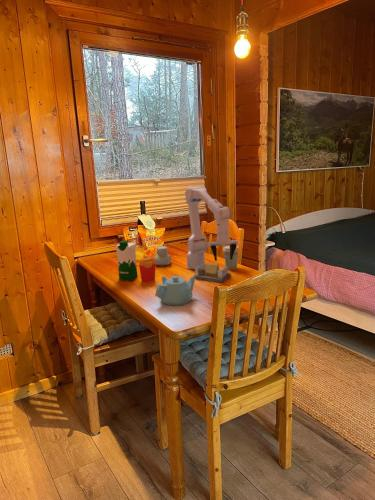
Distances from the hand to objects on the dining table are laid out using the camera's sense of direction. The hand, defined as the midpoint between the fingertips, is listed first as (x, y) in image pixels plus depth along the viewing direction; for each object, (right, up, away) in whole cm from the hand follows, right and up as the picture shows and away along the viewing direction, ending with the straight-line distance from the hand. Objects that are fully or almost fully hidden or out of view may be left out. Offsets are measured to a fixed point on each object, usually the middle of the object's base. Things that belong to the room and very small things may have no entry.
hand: (223, 259), depth 179 cm
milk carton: (-48, -10, +9) cm, 50 cm away
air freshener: (-32, -4, +32) cm, 45 cm away
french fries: (-37, -11, +5) cm, 39 cm away
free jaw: (0, -8, +3) cm, 9 cm away
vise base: (-5, -9, +6) cm, 12 cm away
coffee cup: (+6, -5, +20) cm, 21 cm away
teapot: (-22, -17, -21) cm, 35 cm away
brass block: (-5, -8, +5) cm, 11 cm away
